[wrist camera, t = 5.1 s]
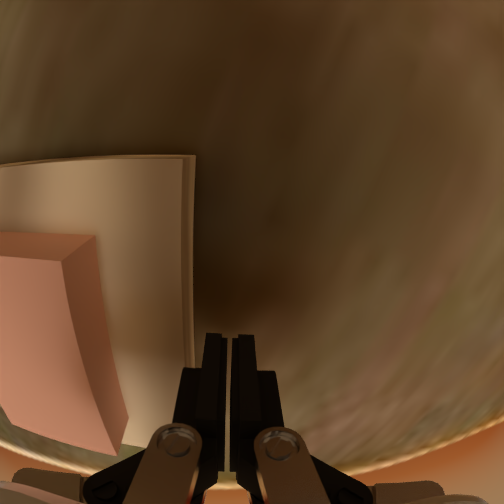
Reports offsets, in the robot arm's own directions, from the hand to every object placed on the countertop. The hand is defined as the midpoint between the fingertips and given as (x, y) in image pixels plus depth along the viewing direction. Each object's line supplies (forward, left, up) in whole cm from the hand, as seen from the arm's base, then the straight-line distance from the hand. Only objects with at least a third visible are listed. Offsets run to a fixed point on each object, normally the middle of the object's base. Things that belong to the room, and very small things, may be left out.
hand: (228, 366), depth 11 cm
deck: (+8, 0, -4) cm, 9 cm away
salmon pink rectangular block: (+8, 0, +1) cm, 8 cm away
